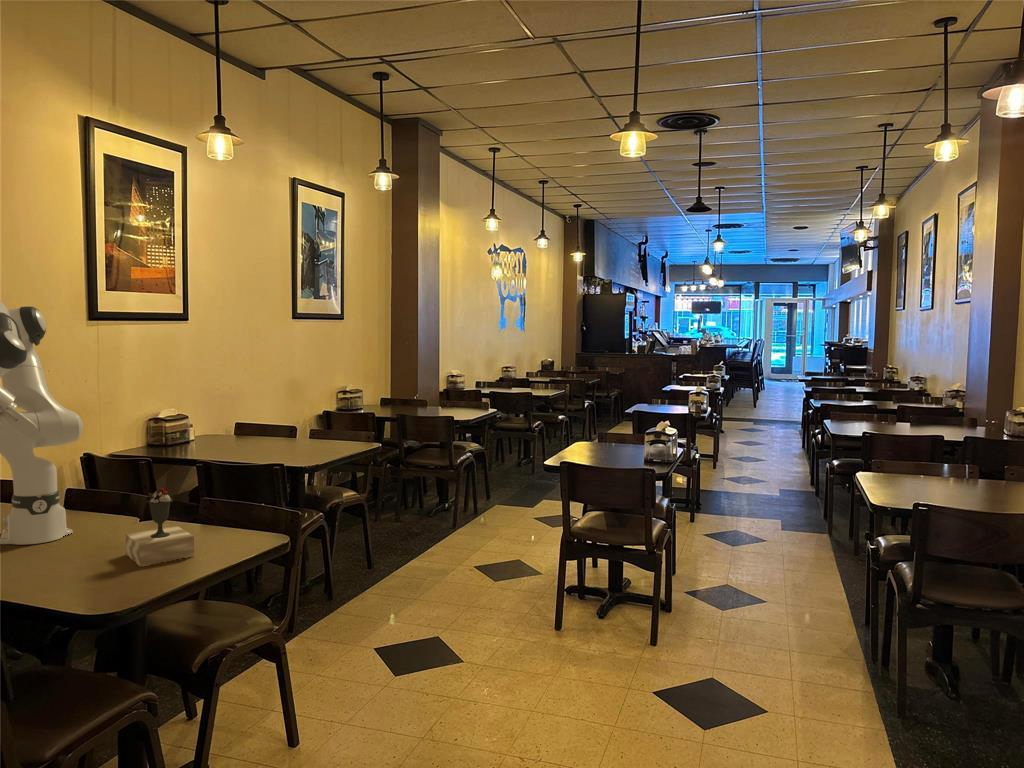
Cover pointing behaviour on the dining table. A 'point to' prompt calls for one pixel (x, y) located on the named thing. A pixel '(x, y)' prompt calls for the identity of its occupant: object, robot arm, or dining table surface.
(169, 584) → the dining table surface
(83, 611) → the dining table surface
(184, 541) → the block
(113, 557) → the dining table surface
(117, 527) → the dining table surface
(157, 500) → the sundae
